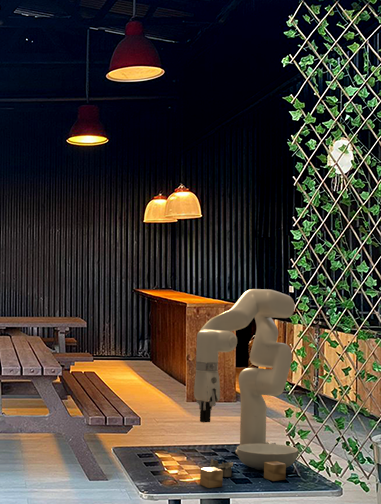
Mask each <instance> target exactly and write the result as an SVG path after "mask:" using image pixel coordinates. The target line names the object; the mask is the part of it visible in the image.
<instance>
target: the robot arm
mask: <svg viewBox="0 0 381 504" xmlns="http://www.w3.org/2000/svg"><path fill="white" fill-rule="evenodd" d="M295 306H296V305H295V302H294V299H293V298H292V296H290V295H288V294H286V293H282V292H280V291H277V290H274V289H267V288H265V289H261V288H252V289H248V290H246V291H245V292H243V293H242V295H241V296H240V297H239V298H238V299H237V301H236V302H235V303H234V304H233V305H232V307H231V308H230V309H229V310H226V311H224V312H222V313H220V314H217V315H216V316H214V317H211V318H210V319H208V320H207V322H205V324H203V326H202V327H201V328H200V330H199V331H198V332H197V334H196V351H195V352H196V353H195V354H196V355H195V356H196V357H195V376H194V382H193V383H194V385H193V397H194V399H195V402H196V403H197V404H198V405H199V406H198V407H199V423H211V416H212V415H211V413H212V412H211V411H212V409H213V407H215V406H216V404H217V403H216V402H220V399H221V383H220V375H219V353H230V352H232V351H234V350H235V349H236V347H237V344H238V337H237V335H236V334H235V333H234V331H238V330H242V329H245V328H246V327H248V326H249V325H250V323H252V321H253V319H254V320H255V325H256V330H255V335H254V339H253V342H252V345H251V350H250V353H249V361H250V363H251V364H252V365H253V366H256V367H247V368H244V369H242V370H241V371H240V373H239V375H238V387H239V395H240V417H239V418H240V421H239V425H240V426H239V446H240V445H244V444H277V442H269V441H267V403H266V401H265V398H264V397H263V396H270V397H278V396H280V395H282V394H283V392H284V390H285V388H286V385H287V380H288V377H289V373H290V370H291V365H292V361H293V352H292V348H291V347H290V346H289V345H288V343H285V342H279V341H278V338H279V335H280V334H279V329H278V327H277V326H278V325H277V324H276V323H275V321H274V320H273V319H274V318H277V319H288V318H290V317H292V315H293V314H294V312H295V308H296V307H295ZM259 367H260V368H259ZM235 455H237V456H238V454H237V449H235Z"/></svg>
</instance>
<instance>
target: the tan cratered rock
mask: <svg viewBox="0 0 381 504" xmlns="http://www.w3.org/2000/svg"><path fill="white" fill-rule="evenodd" d="M233 466H234V461H232V462H229V461H227V462H224V461H222V462H221V463H220V464H219V461H218V460H216V459H215V460H214V458H211V459H210V462H209V468H210V467H215V468H218V469H221V470H223V477H225V478H228V477H229V478H230V477H232V468H233Z"/></svg>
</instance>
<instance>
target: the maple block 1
mask: <svg viewBox="0 0 381 504" xmlns="http://www.w3.org/2000/svg"><path fill="white" fill-rule="evenodd" d="M199 472H200V473H199V474H200V475H199V476H200V477H199V480H200V481H199V485H200V486H202V487H204V488H207V489H212V488H213V489H214V488H222V487H223V482H224V481H223V479H224V478H223V470H221V469H218V468H215V467H210V466H209V467H201V468H200V471H199Z"/></svg>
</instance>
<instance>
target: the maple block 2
mask: <svg viewBox="0 0 381 504" xmlns="http://www.w3.org/2000/svg"><path fill="white" fill-rule="evenodd" d="M286 477H287V468H286V464H285V463H281V462H278V461H272V462H264V471H263V478H264V479H266V480H269V481H272V482H277V481H286Z"/></svg>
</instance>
